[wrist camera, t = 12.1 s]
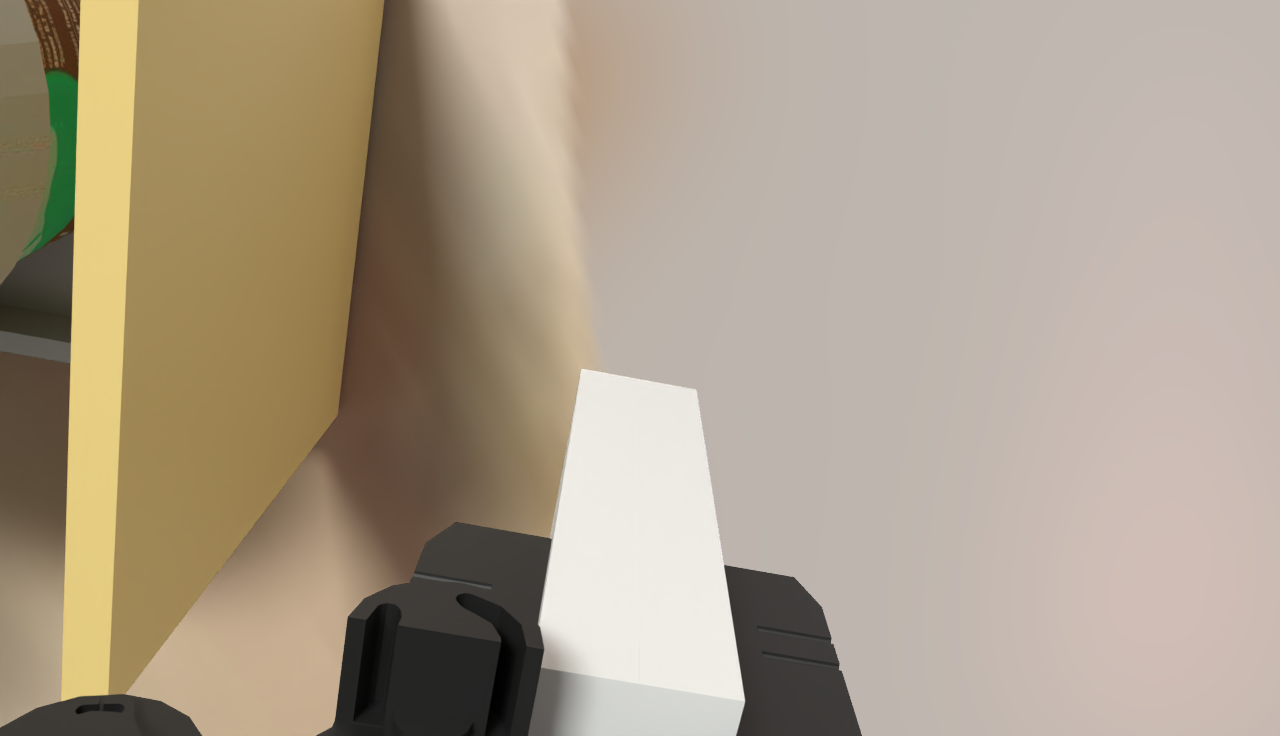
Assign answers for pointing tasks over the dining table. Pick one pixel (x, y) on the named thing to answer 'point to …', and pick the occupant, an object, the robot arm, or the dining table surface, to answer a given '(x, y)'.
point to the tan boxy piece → (194, 294)
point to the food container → (37, 124)
